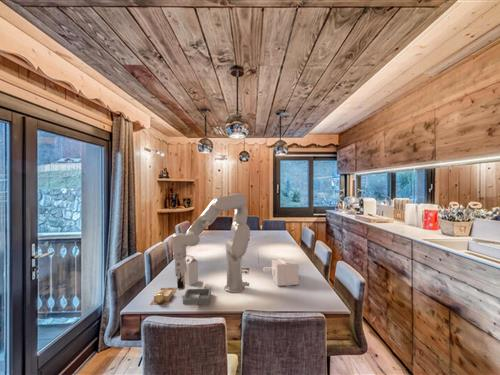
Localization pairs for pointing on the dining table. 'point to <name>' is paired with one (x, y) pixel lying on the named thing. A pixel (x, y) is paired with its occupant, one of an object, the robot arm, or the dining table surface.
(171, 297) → the board
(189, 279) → the milk carton
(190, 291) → the tray
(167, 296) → the thick square wood block
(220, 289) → the dining table surface
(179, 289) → the dowel
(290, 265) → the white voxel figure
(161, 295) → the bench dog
